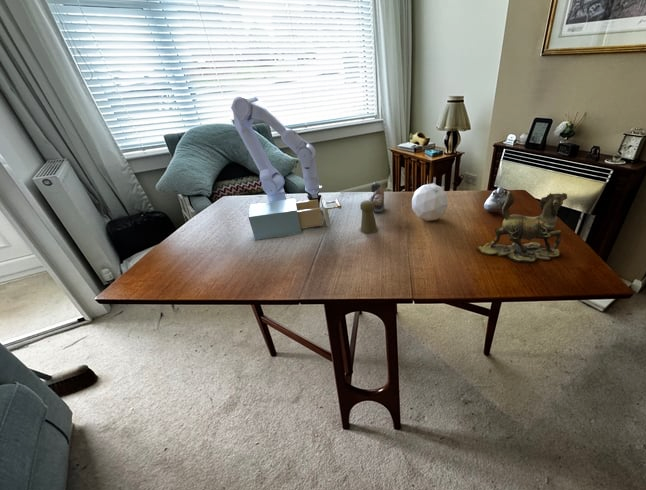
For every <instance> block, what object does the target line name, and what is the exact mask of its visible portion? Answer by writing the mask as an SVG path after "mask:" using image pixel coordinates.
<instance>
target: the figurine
mask: <svg viewBox="0 0 646 490" xmlns="http://www.w3.org/2000/svg"><path fill="white" fill-rule="evenodd" d="M508 192H509V193H508V194H507V197H506V201H505V203H504V205H503V208H502V210H501V212H502V213H501V214H502V216H503V217H504V219H503V220H502V226H501V227H500V228H499V227H496V228H495V229H494V233H495V237H494V239H493V240H491V241H490V242H487V243H484V244H483V245H482V246H481V245H479V246H478V247H477V251H479V252H480V253H481V254H484V255H487V256H499V257H503V258H504V257H505V258H509V259H511V260H513V261H514V262H517V263H527V264H531V263H532V264H533V263H534V262H536V260H542V261H551V258H552V259H555V258H559V257H560V256H561V251H560V250H559V249H558V247H559V245H560V243H561V242H562V231H561V230H560V229H556V228H557V226H558V225H557V224H558V217H557V214H558V211H559V209H560V208H561V206H562V205H563V204H564V201H566V200H567V199H568V194H567V193H565V192H563V193H549V194H547V195H546V196H544V197H541V199H539V200H540V201H539V207H540V210H541V211H542V213H541V214H540V215H539V216H538V215H535V216H528V215H527V216H526V215H522V214H511V215H510V214H509V209H510V208H511V207H512V205H514V203H515V196H514V195H513V193H512V191H510V190H509V191H508ZM504 235H508V241H511V242H513V243H512V244H510V245H507V244H500V243H499V244H498V242H499V241H500V240H501V239H500V238H501V236H504ZM553 237H556V240H555V243H553V244H552V247H551V243H550V242H549V239H551V238H553ZM535 239H540V240H543V242H544V245H545V247H542V244H541V243H540V242H537V241H532V242H529V243H524V244H523V243H522V241H521V240H527V241H531V240H535Z"/></svg>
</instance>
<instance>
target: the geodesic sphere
mask: <svg viewBox="0 0 646 490" xmlns="http://www.w3.org/2000/svg"><path fill="white" fill-rule="evenodd" d="M448 202H449V201H448V194H447V193H446V191H445V189H444V188H443V187H442V186H440V185H437V184H435V183H427V184H423V185H421V186H420V187H418V188H417V189H416V190H414V193H413V196H412V198H411V207H412V211H413V213H414V214H415V215H416V216H417V217H418V218H420V219H422V220H424V221H425V222H430V221H431V222H432V221H437V220H438V219H440V218H441V217H442V216H443V215H445V212H446V210H447V208H448V205H449V203H448Z"/></svg>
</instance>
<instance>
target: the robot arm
mask: <svg viewBox="0 0 646 490" xmlns="http://www.w3.org/2000/svg"><path fill="white" fill-rule="evenodd" d="M230 109H231V111H232V113H233V124H234V127H235V129H236V131H237V133H238V134H239V136H240V139H241V140H242V142H243V144H244V146H245V148H246V150H247V151H248V153H249V155H250V157H251V158H252V161H253V162H254V164H255V166H256V168H257V169H258V172H259V180H260V182H261V189H262V190H263V192H264V193H266V197H267V200H268V201H267V202H273V201H280V200H287V196H286V192H285V189H284V186H285V182H286V180H285V178H284V176H283V175H282V174H281V173H280V172H279V171H278V169H277V168H275V167H274V166H273V165H272V163H271V161H270V159H269V157H268V155H267V153H266V151H265V149H264V147H263V145H262V144H261V141H260V140H259V138H258V136H257V134H256V131H255V130H254V129H253V123H254V120H255V119H256V120H260V121H261V120H262V121H263V122H264V123H265V124H266V125H268V126H269V127H270V128H271V129H272V130H274V131H275V132H276V133H277V134H278V135H280V138H281V141H282V142H283V143H284V144H285V145H286V146H287V147H288V148H289V149H290V150H291V151H292V152H294V154H296V157H297V159H298V161H300V165H301V171H302V176H303V177H302V178H303V183H304V186H305V188H304V191H305V193H306V194H307V195H306V197H307V200H308V201H309V200H317V199H318V204H319V208H320V207H321V198H323V197H322V194H319V193H320V190H323V186H322V185H320V181H319V174H318V168H317V163H316V158H315V157H316V154H317V151H316V149H315V146H314V145H313V144H311V143H309V142H308V141H307V140H304V139H303V138H302V137H301V136H300V135H299V134H298V131H297V130H296V129H292V128H288V127H286V126H285V125H284V124H283V123H282V122H281V121H280V120H279V119H278V118H277V116H275V115H274V114H273V113H272V112H271V110H270V109H269V108H267V106H266V105H265V103H264V102H262V101H261V100H259V98H258V97H257V96H256V95H253V94H246V95H243V96H236V97H235V98H234V99H233V101H232V103H231V106H230Z"/></svg>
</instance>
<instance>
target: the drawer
mask: <svg viewBox="0 0 646 490" xmlns="http://www.w3.org/2000/svg"><path fill="white" fill-rule="evenodd" d="M327 204H335V205H336V206H335V205H334V206H328V205H327ZM320 205H321V207H322V210H323V213H322V214H321V208H319V204H318V199H317V200H309V199H308V200H304V201H303V200H302V201H296V208H297V213H298V218H299V223H300V228H301V229H306V228H312V227H320V226H324V222H325V224H326V227H330V226H331V221H330V215H329V210H334V209H339V210H341V209H342V205H341V203H340V200H339V199H337V198H336V199H334V200H329V201H326V200H325V197H321V200H320ZM323 218H324V221H323Z"/></svg>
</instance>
